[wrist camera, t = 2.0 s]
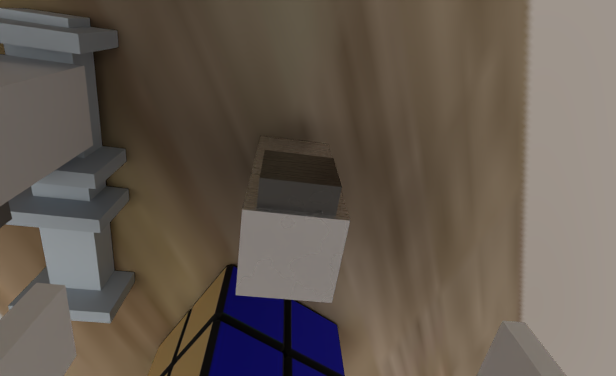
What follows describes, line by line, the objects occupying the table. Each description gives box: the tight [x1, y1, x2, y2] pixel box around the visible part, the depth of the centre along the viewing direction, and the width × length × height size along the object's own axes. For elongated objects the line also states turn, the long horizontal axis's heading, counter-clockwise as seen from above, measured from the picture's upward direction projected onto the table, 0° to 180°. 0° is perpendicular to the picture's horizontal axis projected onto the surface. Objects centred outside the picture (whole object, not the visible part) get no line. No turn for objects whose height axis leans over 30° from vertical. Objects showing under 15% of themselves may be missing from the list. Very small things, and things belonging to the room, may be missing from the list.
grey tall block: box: [236, 136, 350, 303], centre depth 18 cm, size 5×4×9 cm
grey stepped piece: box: [0, 8, 135, 323], centre depth 17 cm, size 18×6×11 cm, turn 172°
